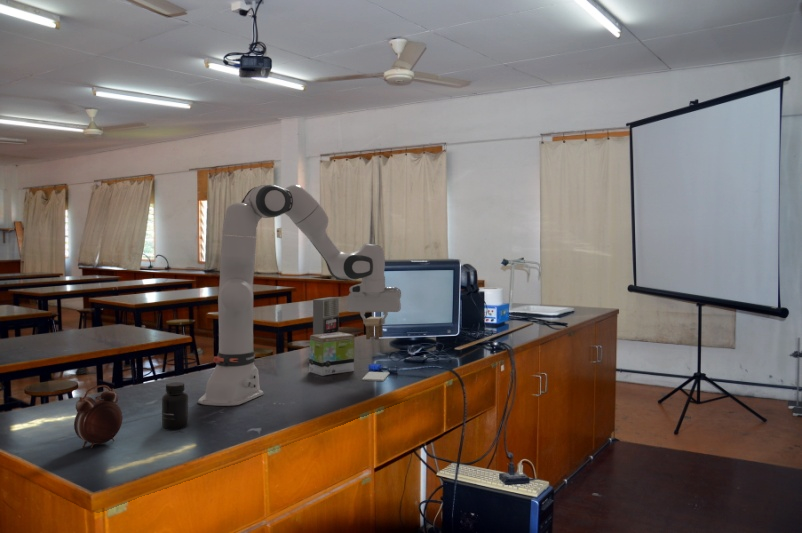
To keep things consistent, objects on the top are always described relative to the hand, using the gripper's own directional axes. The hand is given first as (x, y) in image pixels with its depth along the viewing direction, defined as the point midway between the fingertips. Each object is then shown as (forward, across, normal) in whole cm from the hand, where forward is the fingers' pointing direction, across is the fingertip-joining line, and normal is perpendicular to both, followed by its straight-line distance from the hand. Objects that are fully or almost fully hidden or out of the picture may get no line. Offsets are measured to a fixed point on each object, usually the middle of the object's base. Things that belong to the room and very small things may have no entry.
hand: (374, 323), depth 228 cm
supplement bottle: (+19, +42, +69) cm, 83 cm away
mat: (+20, 0, 0) cm, 20 cm away
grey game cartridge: (+20, +32, -44) cm, 58 cm away
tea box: (+20, +19, -6) cm, 28 cm away
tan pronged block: (+5, 0, 0) cm, 5 cm away
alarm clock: (+18, +53, +86) cm, 103 cm away
